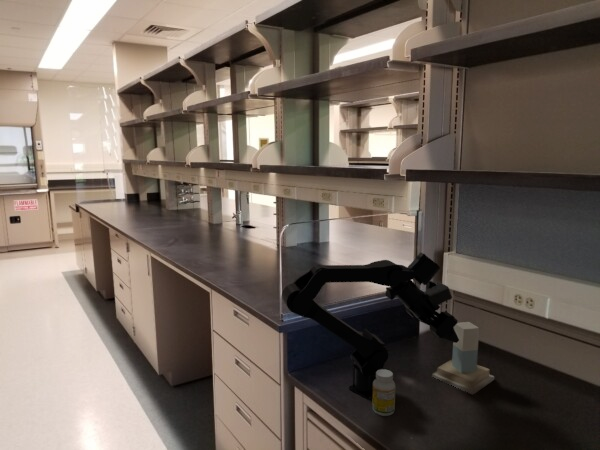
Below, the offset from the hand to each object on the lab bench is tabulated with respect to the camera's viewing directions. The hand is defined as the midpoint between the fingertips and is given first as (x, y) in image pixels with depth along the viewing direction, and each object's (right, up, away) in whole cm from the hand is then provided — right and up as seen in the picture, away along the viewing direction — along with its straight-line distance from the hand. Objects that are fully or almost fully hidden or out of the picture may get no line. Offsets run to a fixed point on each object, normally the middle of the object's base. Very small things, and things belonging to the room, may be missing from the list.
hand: (448, 334), depth 117 cm
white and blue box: (+5, -10, +2) cm, 12 cm away
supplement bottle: (-20, -16, -12) cm, 28 cm away
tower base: (+5, -13, +3) cm, 14 cm away
